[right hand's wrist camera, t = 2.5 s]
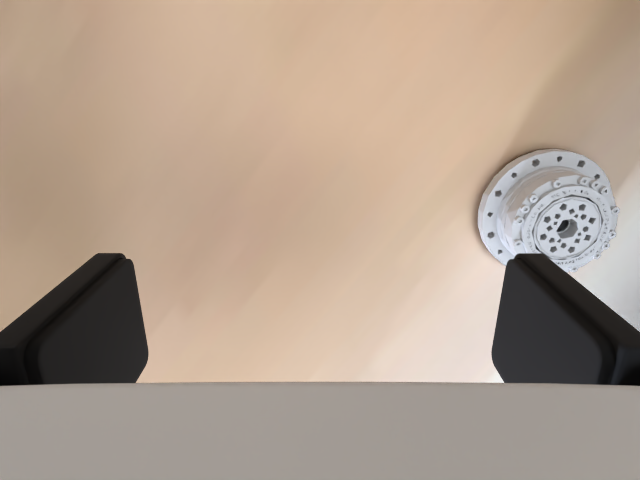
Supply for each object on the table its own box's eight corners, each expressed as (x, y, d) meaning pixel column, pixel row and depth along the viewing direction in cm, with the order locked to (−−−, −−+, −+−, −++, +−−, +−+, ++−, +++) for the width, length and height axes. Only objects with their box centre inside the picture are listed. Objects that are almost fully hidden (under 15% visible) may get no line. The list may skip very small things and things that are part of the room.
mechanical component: (554, 283, 37) (628, 179, 34) (583, 309, 33) (670, 193, 30) (453, 239, 36) (520, 126, 32) (470, 261, 32) (549, 134, 28)
